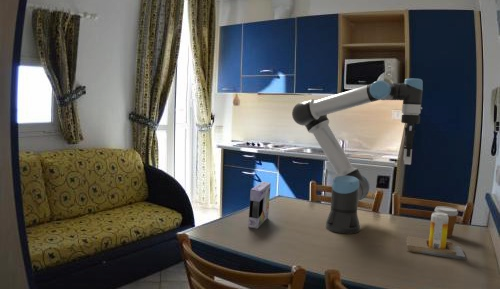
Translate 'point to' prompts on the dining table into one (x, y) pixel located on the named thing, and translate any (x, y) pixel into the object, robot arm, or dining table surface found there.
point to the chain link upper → (421, 244)
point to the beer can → (438, 230)
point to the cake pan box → (259, 204)
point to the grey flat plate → (458, 254)
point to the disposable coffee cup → (452, 217)
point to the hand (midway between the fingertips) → (406, 162)
